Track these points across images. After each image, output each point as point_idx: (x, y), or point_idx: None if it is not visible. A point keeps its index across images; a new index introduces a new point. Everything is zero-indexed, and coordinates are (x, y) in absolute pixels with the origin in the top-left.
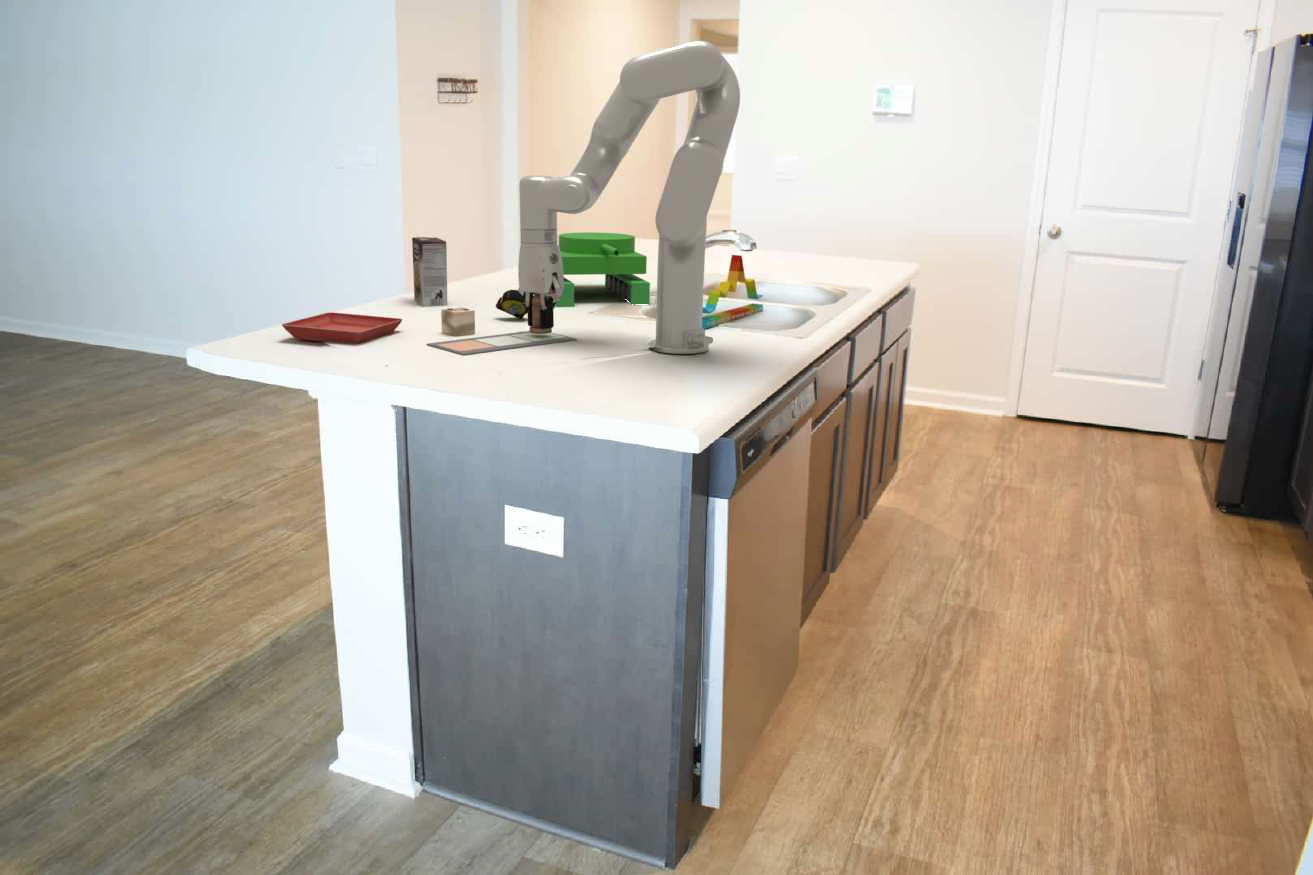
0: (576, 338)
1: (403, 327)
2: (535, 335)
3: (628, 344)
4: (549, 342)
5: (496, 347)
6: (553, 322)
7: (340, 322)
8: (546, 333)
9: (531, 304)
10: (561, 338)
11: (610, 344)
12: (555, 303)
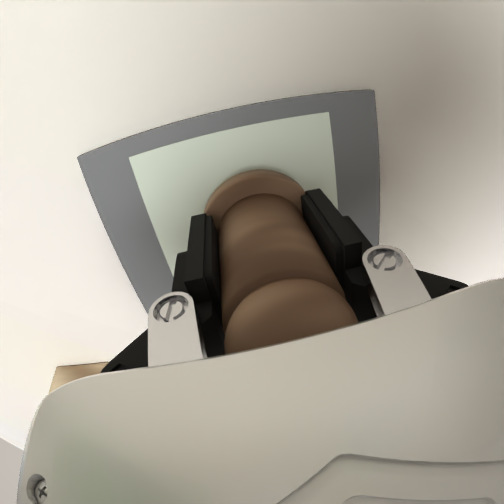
0: (372, 90)
1: (34, 414)
2: None
3: (491, 9)
4: (378, 230)
5: None
6: (325, 196)
7: None
8: None
9: (221, 352)
10: (341, 149)
11: (477, 49)
12: (441, 281)
